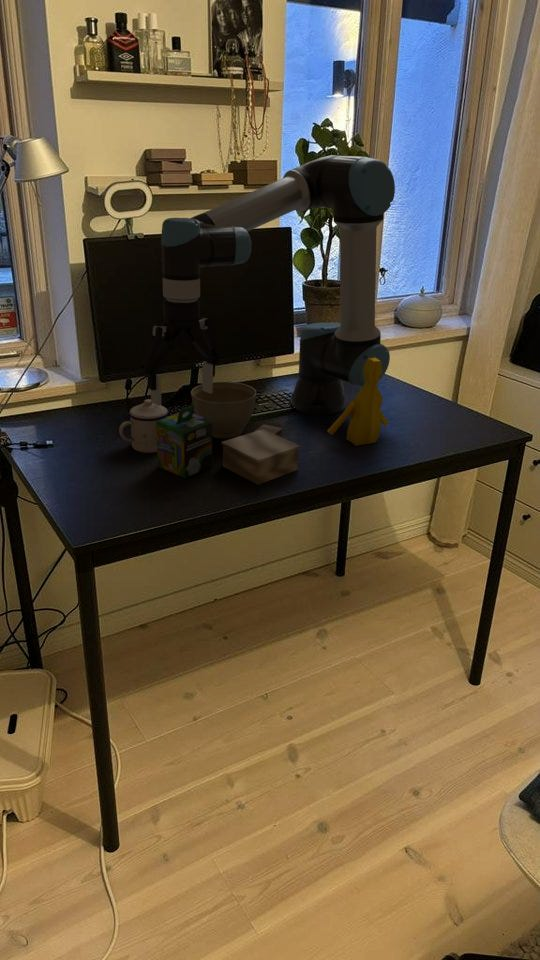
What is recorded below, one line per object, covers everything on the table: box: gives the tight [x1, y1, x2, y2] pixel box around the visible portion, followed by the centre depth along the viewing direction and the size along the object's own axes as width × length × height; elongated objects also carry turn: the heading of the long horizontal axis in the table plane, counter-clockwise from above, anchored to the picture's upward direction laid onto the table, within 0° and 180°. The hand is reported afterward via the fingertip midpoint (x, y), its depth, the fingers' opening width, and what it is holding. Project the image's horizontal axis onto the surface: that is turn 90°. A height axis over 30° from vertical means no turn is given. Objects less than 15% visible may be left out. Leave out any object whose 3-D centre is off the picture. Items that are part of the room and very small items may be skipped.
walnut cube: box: [253, 424, 283, 438], centre depth 175 cm, size 5×5×5 cm
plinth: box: [220, 429, 302, 485], centre depth 164 cm, size 13×13×6 cm
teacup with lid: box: [118, 398, 169, 454], centre depth 172 cm, size 12×9×12 cm
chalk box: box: [156, 404, 213, 479], centre depth 162 cm, size 9×9×15 cm
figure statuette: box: [326, 357, 389, 446], centre depth 177 cm, size 18×8×22 cm, turn 116°
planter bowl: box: [190, 381, 257, 439], centre depth 182 cm, size 16×16×11 cm
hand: (182, 397), depth 158 cm, fingers open, 13 cm apart
